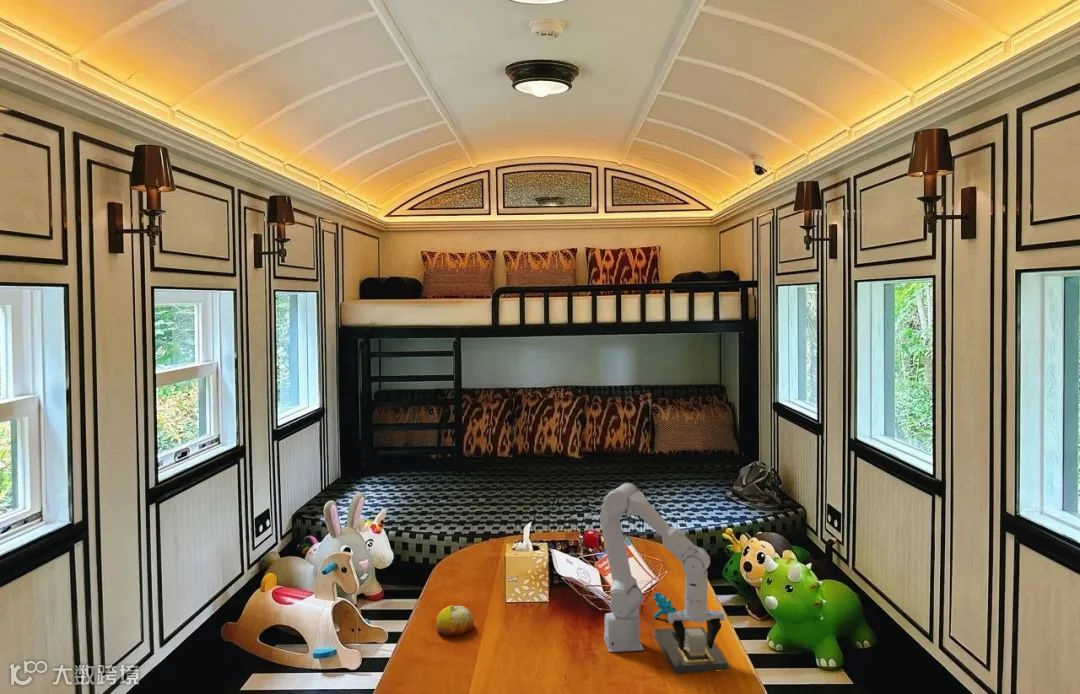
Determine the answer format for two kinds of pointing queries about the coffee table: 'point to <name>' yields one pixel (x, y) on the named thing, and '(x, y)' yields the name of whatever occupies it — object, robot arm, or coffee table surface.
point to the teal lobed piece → (663, 605)
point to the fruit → (454, 621)
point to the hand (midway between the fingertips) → (695, 647)
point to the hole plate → (680, 661)
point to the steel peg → (694, 644)
